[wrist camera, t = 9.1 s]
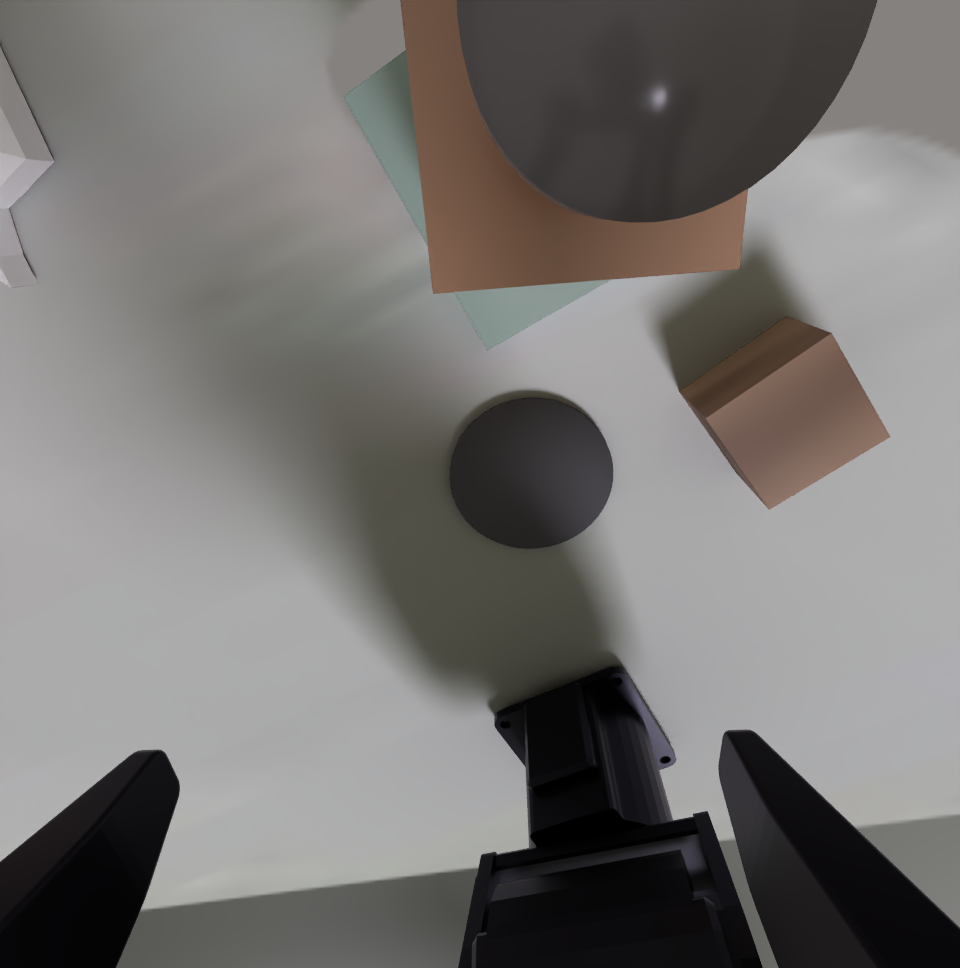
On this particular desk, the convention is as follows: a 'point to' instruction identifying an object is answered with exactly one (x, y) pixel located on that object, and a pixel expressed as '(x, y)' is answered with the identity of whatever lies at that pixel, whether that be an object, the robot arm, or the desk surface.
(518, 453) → the dark grey puck
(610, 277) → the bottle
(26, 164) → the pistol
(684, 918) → the robot arm
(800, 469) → the walnut block
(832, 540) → the desk surface
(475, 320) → the mat
